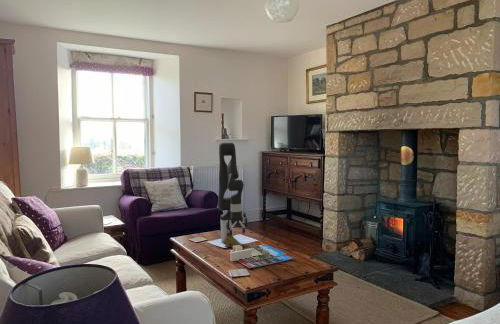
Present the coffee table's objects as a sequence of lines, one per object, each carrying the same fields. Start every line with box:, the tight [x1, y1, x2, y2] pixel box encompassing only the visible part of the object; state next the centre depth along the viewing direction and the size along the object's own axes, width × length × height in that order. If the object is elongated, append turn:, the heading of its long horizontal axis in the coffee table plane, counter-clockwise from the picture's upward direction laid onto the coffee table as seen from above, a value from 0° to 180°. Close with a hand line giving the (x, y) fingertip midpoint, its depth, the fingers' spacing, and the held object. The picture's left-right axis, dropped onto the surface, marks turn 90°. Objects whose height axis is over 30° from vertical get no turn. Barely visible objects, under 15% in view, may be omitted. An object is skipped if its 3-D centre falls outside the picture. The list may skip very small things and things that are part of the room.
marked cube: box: [232, 244, 244, 252], centre depth 236 cm, size 5×5×6 cm
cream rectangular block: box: [229, 248, 252, 262], centre depth 228 cm, size 2×14×6 cm, turn 114°
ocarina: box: [222, 233, 245, 250], centre depth 251 cm, size 20×5×10 cm, turn 50°
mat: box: [243, 247, 264, 257], centre depth 240 cm, size 16×7×1 cm, turn 24°
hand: (237, 234), depth 235 cm, fingers open, 8 cm apart
